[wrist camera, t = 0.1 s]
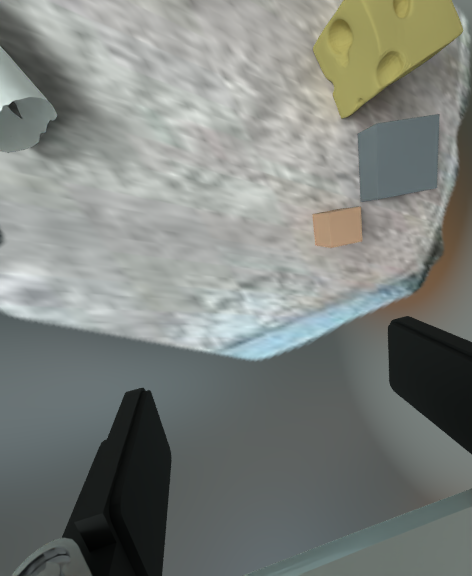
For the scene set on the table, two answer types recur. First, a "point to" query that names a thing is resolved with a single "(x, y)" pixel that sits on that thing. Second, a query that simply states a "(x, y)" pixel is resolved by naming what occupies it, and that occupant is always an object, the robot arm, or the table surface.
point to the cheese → (381, 44)
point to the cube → (338, 227)
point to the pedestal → (398, 157)
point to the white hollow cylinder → (21, 108)
